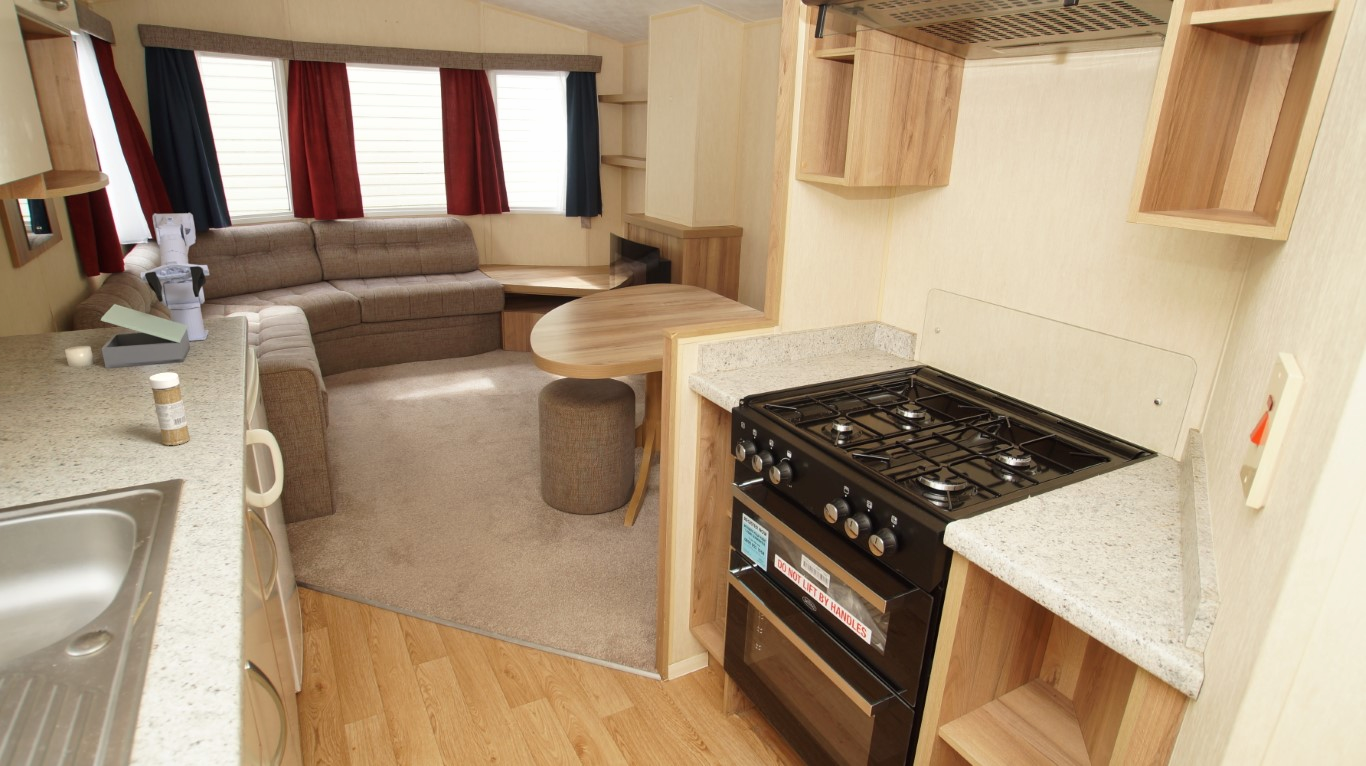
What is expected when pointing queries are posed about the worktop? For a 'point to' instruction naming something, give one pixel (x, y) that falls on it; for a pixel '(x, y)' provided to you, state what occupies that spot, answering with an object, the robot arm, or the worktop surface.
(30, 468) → the worktop surface
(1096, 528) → the worktop surface
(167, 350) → the box
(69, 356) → the cream rounded cup
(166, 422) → the sprinkles bottle
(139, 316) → the lid
